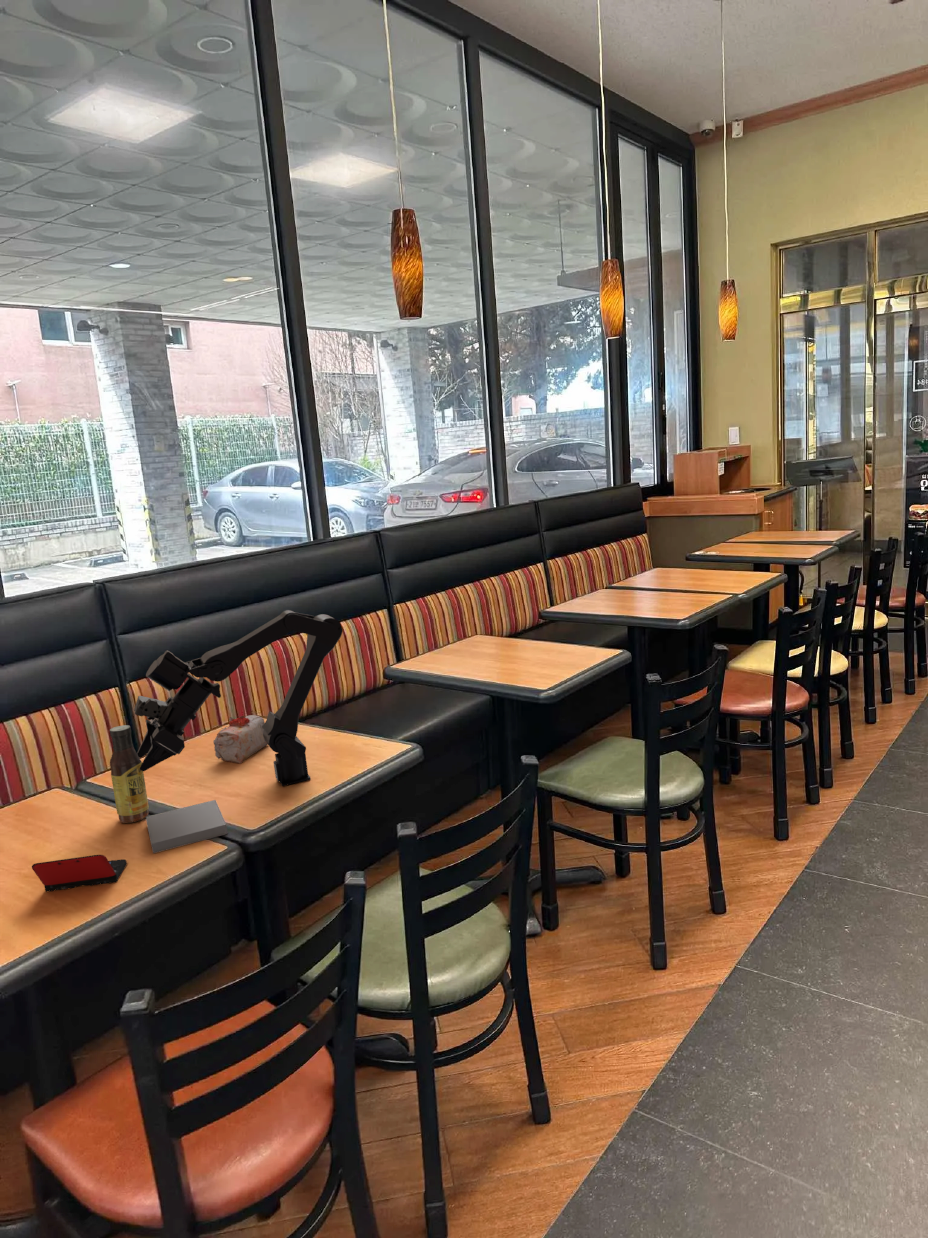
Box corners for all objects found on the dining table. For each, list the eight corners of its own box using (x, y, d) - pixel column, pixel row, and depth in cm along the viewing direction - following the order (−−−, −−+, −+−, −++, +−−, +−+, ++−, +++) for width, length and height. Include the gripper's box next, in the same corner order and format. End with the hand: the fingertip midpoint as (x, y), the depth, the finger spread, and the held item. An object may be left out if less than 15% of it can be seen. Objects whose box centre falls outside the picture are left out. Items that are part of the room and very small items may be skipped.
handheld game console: (129, 863, 156) (122, 827, 154) (111, 893, 145) (104, 854, 144) (60, 872, 155) (52, 835, 153) (37, 903, 144) (29, 864, 142)
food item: (241, 766, 200) (235, 727, 198) (214, 764, 203) (207, 726, 201) (272, 745, 212) (267, 708, 210) (245, 744, 215) (240, 708, 213)
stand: (216, 808, 176) (215, 799, 176) (227, 833, 164) (226, 824, 163) (147, 825, 171) (145, 816, 170) (153, 853, 158) (151, 843, 158)
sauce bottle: (139, 825, 172) (122, 734, 167) (112, 824, 173) (95, 734, 169) (156, 811, 178) (141, 722, 174) (130, 810, 179) (114, 723, 175)
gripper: (150, 672, 181) (104, 731, 179) (158, 692, 164) (107, 757, 162) (193, 699, 186) (148, 757, 184) (205, 721, 169) (156, 785, 167)
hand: (139, 763), depth 174 cm, fingers open, 9 cm apart
